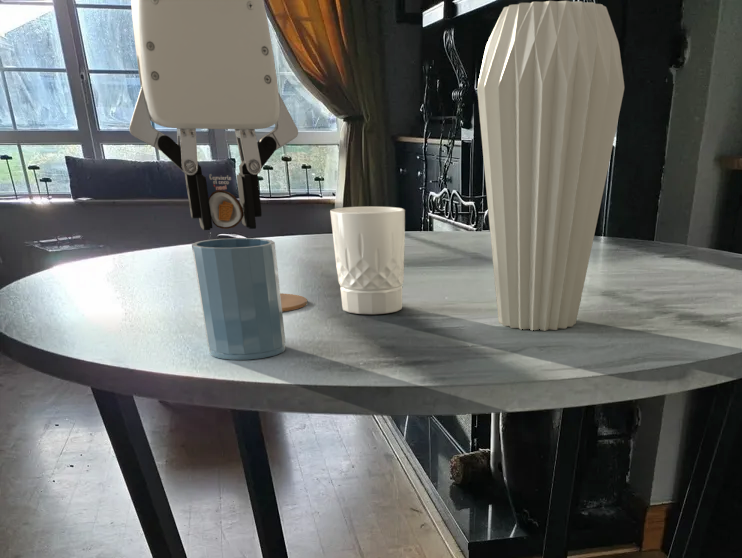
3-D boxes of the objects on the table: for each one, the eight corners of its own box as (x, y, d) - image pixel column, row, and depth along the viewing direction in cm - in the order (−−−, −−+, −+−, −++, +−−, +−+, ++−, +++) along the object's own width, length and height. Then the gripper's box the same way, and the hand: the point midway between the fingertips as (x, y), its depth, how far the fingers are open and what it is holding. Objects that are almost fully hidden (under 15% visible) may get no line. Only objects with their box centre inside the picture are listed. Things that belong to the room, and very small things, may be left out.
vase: (541, 343, 73) (562, -9, 59) (446, 321, 81) (446, 8, 68) (627, 323, 81) (663, 6, 67) (532, 304, 89) (547, 20, 75)
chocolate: (252, 226, 67) (246, 173, 64) (242, 229, 65) (235, 175, 63) (219, 225, 67) (211, 173, 65) (208, 228, 65) (200, 174, 63)
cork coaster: (224, 316, 84) (224, 312, 84) (213, 300, 92) (212, 296, 91) (315, 309, 87) (315, 305, 87) (297, 294, 95) (297, 290, 95)
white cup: (397, 300, 91) (394, 205, 86) (415, 313, 85) (413, 211, 80) (331, 304, 89) (324, 207, 84) (344, 318, 83) (337, 214, 78)
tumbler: (214, 363, 67) (196, 250, 63) (205, 345, 73) (188, 240, 68) (292, 355, 69) (280, 245, 65) (277, 339, 75) (266, 236, 70)
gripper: (294, -36, 62) (313, 220, 71) (71, -53, 57) (124, 226, 66) (315, -53, 56) (333, 229, 65) (68, -74, 51) (127, 236, 60)
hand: (227, 225), depth 66 cm, fingers closed on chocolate, 3 cm apart
